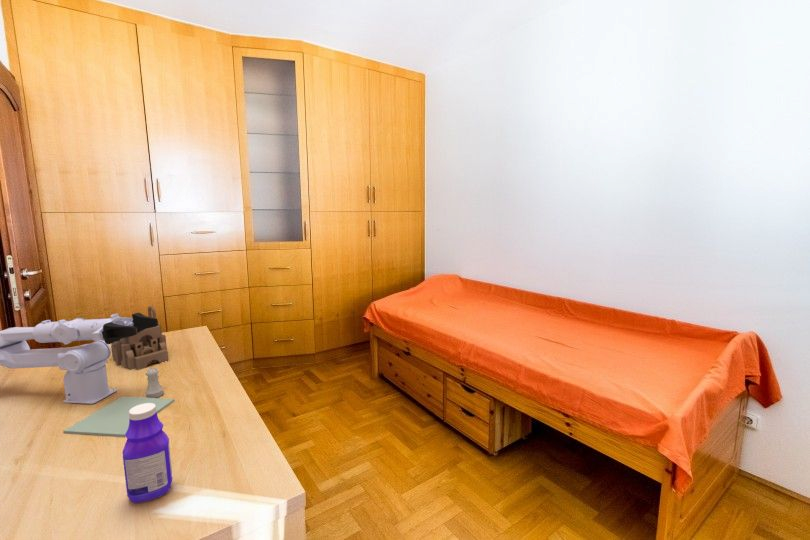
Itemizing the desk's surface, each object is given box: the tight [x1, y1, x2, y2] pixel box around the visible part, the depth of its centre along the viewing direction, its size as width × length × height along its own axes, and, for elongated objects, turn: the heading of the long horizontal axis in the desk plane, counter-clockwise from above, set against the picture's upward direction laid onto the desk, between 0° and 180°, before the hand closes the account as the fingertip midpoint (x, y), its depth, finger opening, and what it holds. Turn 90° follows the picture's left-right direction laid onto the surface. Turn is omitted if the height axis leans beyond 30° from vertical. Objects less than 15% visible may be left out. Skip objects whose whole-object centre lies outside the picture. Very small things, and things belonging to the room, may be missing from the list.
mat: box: [62, 396, 176, 438], centre depth 98 cm, size 16×17×1 cm
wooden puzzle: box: [110, 305, 169, 371], centre depth 135 cm, size 22×15×19 cm, turn 55°
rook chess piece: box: [145, 367, 165, 398], centre depth 108 cm, size 4×4×8 cm
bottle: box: [122, 403, 174, 504], centre depth 70 cm, size 7×6×17 cm
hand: (146, 326), depth 103 cm, fingers open, 7 cm apart
